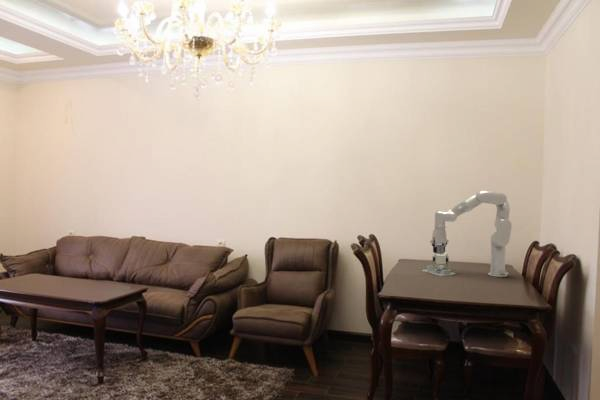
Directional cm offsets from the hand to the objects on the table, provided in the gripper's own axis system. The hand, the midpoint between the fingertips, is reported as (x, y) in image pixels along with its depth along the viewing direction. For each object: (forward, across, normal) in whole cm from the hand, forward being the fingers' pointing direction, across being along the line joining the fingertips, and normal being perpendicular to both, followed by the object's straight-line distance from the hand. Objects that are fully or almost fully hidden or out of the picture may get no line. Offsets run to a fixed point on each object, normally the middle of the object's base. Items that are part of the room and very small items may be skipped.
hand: (439, 251), depth 342 cm
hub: (+1, 0, 0) cm, 1 cm away
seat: (+16, 0, 0) cm, 16 cm away
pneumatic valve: (+16, -13, -14) cm, 25 cm away
